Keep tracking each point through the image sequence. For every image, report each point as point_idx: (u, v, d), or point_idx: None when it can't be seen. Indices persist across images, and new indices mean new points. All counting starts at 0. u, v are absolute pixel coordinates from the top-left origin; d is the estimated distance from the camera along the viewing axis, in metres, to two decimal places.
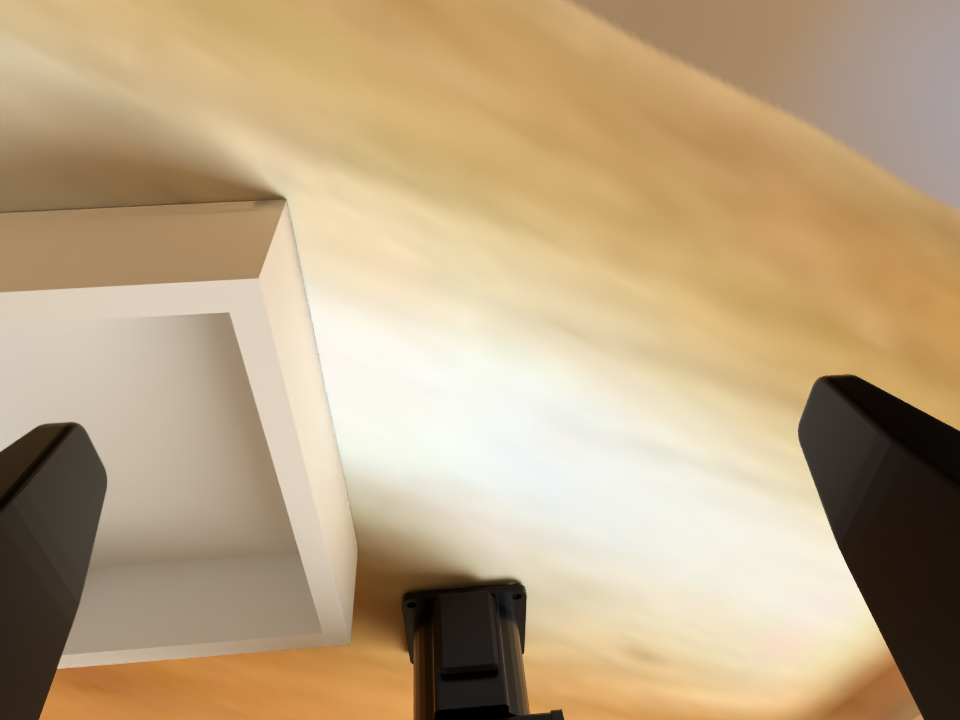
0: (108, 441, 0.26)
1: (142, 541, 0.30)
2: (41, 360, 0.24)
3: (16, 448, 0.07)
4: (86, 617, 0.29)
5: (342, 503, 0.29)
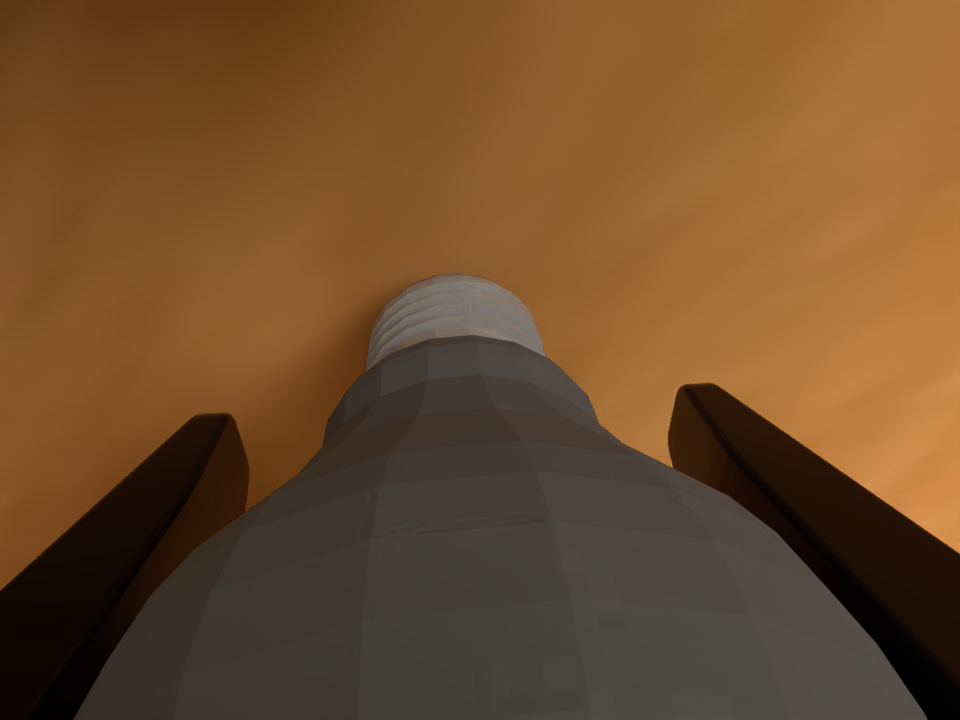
0: None
1: None
2: None
3: (182, 437, 0.07)
4: None
5: None
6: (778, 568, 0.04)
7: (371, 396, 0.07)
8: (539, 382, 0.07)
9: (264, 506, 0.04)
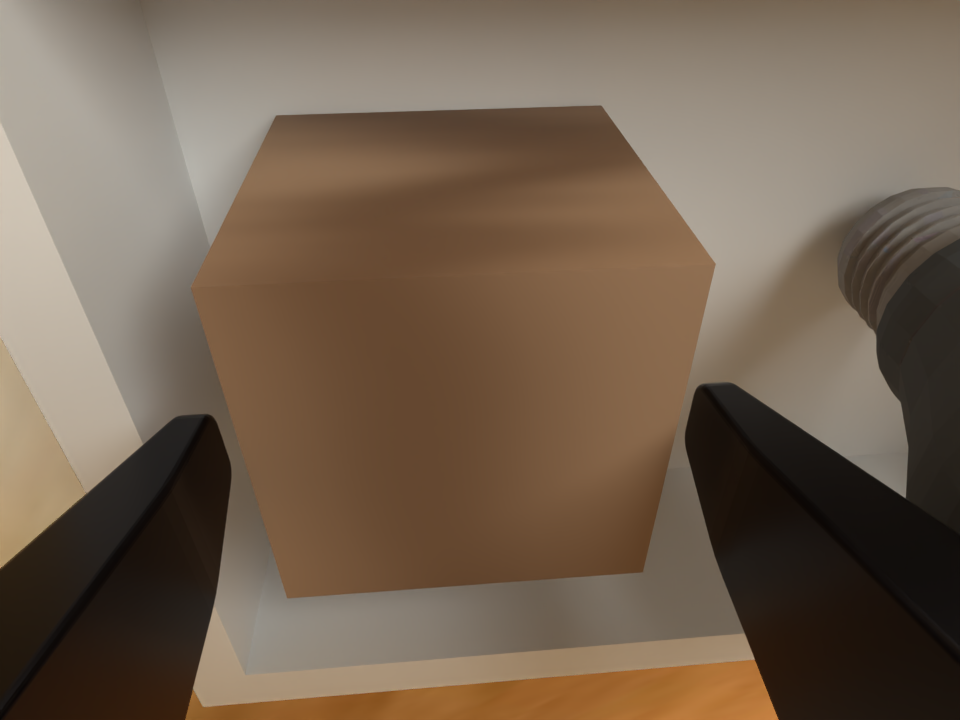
0: None
1: None
2: None
3: (161, 439, 0.07)
4: None
5: None
6: None
7: None
8: None
9: None
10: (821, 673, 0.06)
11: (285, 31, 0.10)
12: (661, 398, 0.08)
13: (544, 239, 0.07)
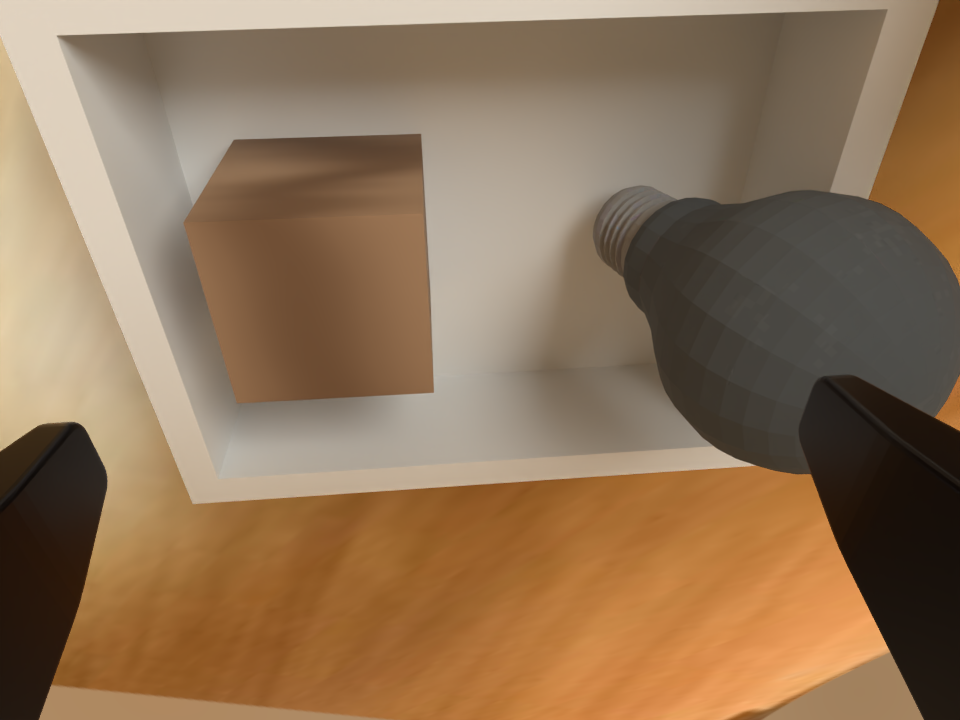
0: (485, 260, 0.21)
1: None
2: None
3: (17, 448, 0.07)
4: None
5: None
6: None
7: (669, 222, 0.16)
8: None
9: (731, 220, 0.14)
10: None
11: (236, 95, 0.17)
12: (415, 282, 0.15)
13: (350, 203, 0.15)
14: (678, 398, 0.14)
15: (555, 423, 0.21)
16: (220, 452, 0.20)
